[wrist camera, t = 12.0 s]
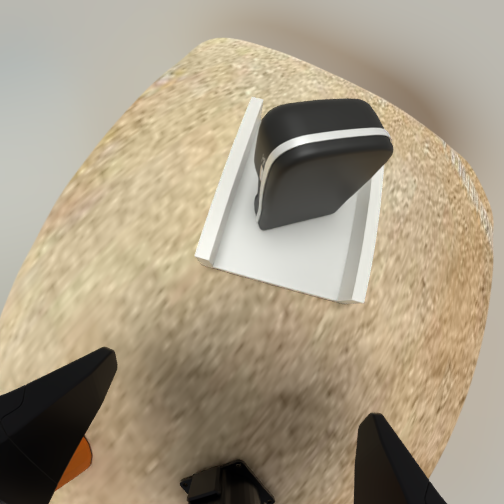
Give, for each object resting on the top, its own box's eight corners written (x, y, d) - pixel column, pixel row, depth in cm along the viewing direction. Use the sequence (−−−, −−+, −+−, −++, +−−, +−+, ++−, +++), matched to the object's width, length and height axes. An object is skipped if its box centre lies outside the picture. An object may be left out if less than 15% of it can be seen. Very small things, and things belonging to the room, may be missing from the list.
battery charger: (323, 173, 23) (376, 86, 12) (337, 213, 23) (409, 143, 12) (244, 189, 23) (251, 94, 12) (257, 233, 22) (276, 162, 11)
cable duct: (343, 304, 22) (363, 303, 19) (201, 264, 22) (194, 256, 19) (368, 160, 25) (385, 140, 21) (249, 123, 25) (251, 96, 21)
